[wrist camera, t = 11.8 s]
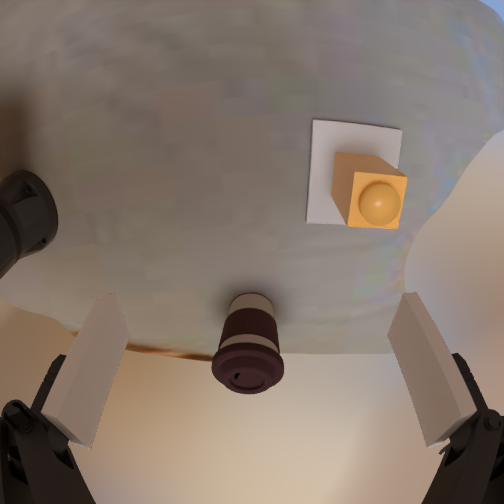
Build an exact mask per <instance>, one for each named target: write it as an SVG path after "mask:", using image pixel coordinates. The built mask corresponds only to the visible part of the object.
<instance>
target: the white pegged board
mask: <svg viewBox="0 0 504 504" xmlns="http://www.w3.org/2000/svg"><path fill="white" fill-rule="evenodd" d="M401 138H402V130H400V129H394V128H388V127H381V126H374V125H367V124H359V123H351V122H341V121H331V120H318V119H312V131H311V151H310V168H309V183H308V197H307V209H306V223H316V224H343V225H346V223H345V221H344V220H343V218H342V216H341V214H340V212H339V210H338V208H337V206H336V205H335V203H334V201H333V199H332V197H331V191H332V181H333V170H334V158H335V152H340V153H352V154H362V155H371V156H379V157H380V158H382V159H383V160H385V161H386V162H388V163H389V164H390V165H392V166H393V167H395V168H396V169H398V162H399V154H400V147H401Z"/></svg>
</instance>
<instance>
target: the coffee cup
mask: <svg viewBox="0 0 504 504" xmlns="http://www.w3.org/2000/svg"><path fill="white" fill-rule="evenodd" d="M279 354H280V349H279V341H278V333H277V325H276V322H275V319H274V310H273V306H272V304H271V302H270V301H269V300H268V299H267V298H265V297H264V296H261V295H258V294H244V295H241V296H239V297H237V298H236V299H235V300H234V301H233V302H232V304H231V306H230V310H229V314H228V317H227V318H226V321H225V324H224V328H223V332H222V335H221V339H220V343H219V348H218V351H217V352H216V353H215V355H214V357H213V361H212V373H213V375H214V376H215V378H216V379H217V380H218V381H219V382H221V383H222V384H224V385H225V386H226V387H227V388H228V389H230V390H231V391H234V392H237V393H242V394H257V393H260V392H263V391H265V390H267V389H268V388H269V387H272V386H274V385H275V384H277V383H278V382H279V381H280V380H281V379H282V377H283V374H284V363H283V359H282V357H281V356H280V355H279Z"/></svg>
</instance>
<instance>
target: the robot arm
mask: <svg viewBox="0 0 504 504" xmlns="http://www.w3.org/2000/svg"><path fill="white" fill-rule="evenodd" d="M57 224H58V220H57V211H56V207H55V204H54V201H53V198H52V196H51V194H50V192H49V190H48V189H47V187H46V186H45V184H44V183H43V182H42V181H41V180H40V179H39V178H38V177H37V176H35V175H34V174H32V173H30V172H28V171H16V172H14V173H12V174H11V175H9V176H7V177H6V178H4V179H3V180H2V181H1V183H0V279H1V278H2V277H3V276H4V275H5V274H6V272H7V271H8V270H9V269H10V268H11V267H12V266H13V265H14V264H15V263H16V262H17V261H18V260H19V259H21V258H23V257H26V256H28V255H31V254H34V253H36V252H39V251H41V250H43V249H44V248H45V247H46V246H47V245H48V244H49V243H50V242H51V241H52V240H53V239H54V237H55V234H56V231H57ZM387 335H388V337H389V340H390V342H391V345H392V347H393V350H394V353H395V355H396V358H397V360H398V363H399V365H400V368H401V371H402V374H403V376H404V379H405V382H406V384H407V387H408V390H409V393H410V396H411V399H412V402H413V405H414V408H415V410H416V414H417V417H418V420H419V423H420V426H421V429H422V433H423V436H424V440H425V443H426V446H427V448H429V447H432V446H435V445H439V444H442V443H443V442H444V441H445V440H446V439H447V438H449V439H450V443H449V444H448V445H446V446H445V447H444V448H443V449H442V450H441V451H440V452H439V454H440V455H441V454H442V453H443V452H444V451H445V454H444V456H443V459H442V461H441V464H440V466H439V468H438V471H437V473H436V475H435V477H434V479H433V481H432V484H431V486H430V488H429V490H428V492H427V494H426V496H425V498H424V500H423V502H422V503H421V504H504V416H500V414H499V413H498V412H496V411H495V410H491V409H488V407H487V405H486V403H485V401H484V398H483V396H482V394H481V392H480V390H479V387H478V385H477V383H476V381H475V380H474V377H473V375H472V373H471V372H470V369H469V367H468V365H467V363H466V361H465V360H464V359H463V358H462V357H461V356H460V355H459V354H458V353H455V354H451V353H450V351H449V349H448V347H447V345H446V343H445V341H444V339H443V338H442V336H441V334H440V332H439V330H438V328H437V326H436V325H435V323H434V321H433V319H432V318H431V316H430V314H429V312H428V311H427V309H426V307H425V305H424V304H423V302H422V301H421V299H420V297H419V296H418V294H417V293H416V292H414V293H403V295H402V298H401V301H400V304H399V306H398V309H397V312H396V314H395V317H394V319H393V322H392V324H391V327H390V329H389V332H388V334H387ZM129 338H130V332H129V329H128V327H127V324H126V322H125V319H124V316H123V313H122V311H121V308H120V305H119V302H118V299H117V296H116V293H103V292H101V294H100V296H99V298H98V299H97V301H96V303H95V304H94V306H93V308H92V310H91V311H90V313H89V315H88V317H87V319H86V320H85V322H84V324H83V326H82V328H81V329H80V331H79V333H78V335H77V337H76V339H75V341H74V343H73V345H72V347H71V348H70V351H69V353H68V354H67V356H66V355H61V354H60V355H59V356H58V357H57V358H56V359H55V360H54V361H53V362H52V364H51V366H50V368H49V370H48V372H47V373H48V374H46V376H45V378H44V382H42V384H41V386H40V388H39V391H38V393H37V395H36V397H35V399H34V401H33V404H32V406H31V408H30V409H29V408H28V407H27V406H26V405H25V404H24V403H23V402H22V401H20V400H12V401H10V402H8V403H7V404H6V405H5V407H4V408H3V411H2V418H1V417H0V504H96V503H95V501H94V499H93V497H92V495H91V493H90V491H89V490H88V487H87V485H86V483H85V481H84V479H83V477H82V475H81V473H80V471H79V468H78V466H77V464H76V461H75V459H74V457H73V454H72V452H71V450H70V448H69V446H68V445H67V444H68V441H69V440H70V441H71V442H73V443H74V444H75V445H77V446H80V447H83V448H86V449H90V450H91V448H92V445H93V441H94V438H95V435H96V432H97V428H98V425H99V422H100V418H101V416H102V412H103V409H104V406H105V403H106V400H107V397H108V394H109V392H110V389H111V386H112V383H113V380H114V377H115V374H116V372H117V369H118V366H119V364H120V361H121V358H122V356H123V353H124V350H125V348H126V345H127V343H128V340H129Z"/></svg>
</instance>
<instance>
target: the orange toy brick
mask: <svg viewBox="0 0 504 504" xmlns="http://www.w3.org/2000/svg"><path fill="white" fill-rule="evenodd" d="M407 178H408V177H407V176H405V175H404V174H403V173H401V172H400V171H399V170H397V169H396V168H395V167H393V166H392V165H390V164H389V163H388V162H386V161H385V160H383V159H382V158H380V157H379V156H371V155H362V154H352V153H340V152H335V158H334V170H333V181H332V191H331V197H332V199H333V201H334V203H335V205H336V206H337V208H338V210H339V212H340V214H341V216H342V218H343V220H344V221H345V223H346V225H347V227H369V228H390V229H397V228H398V224H399V219H400V215H401V210H402V205H403V200H404V195H405V189H406V184H407Z"/></svg>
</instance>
